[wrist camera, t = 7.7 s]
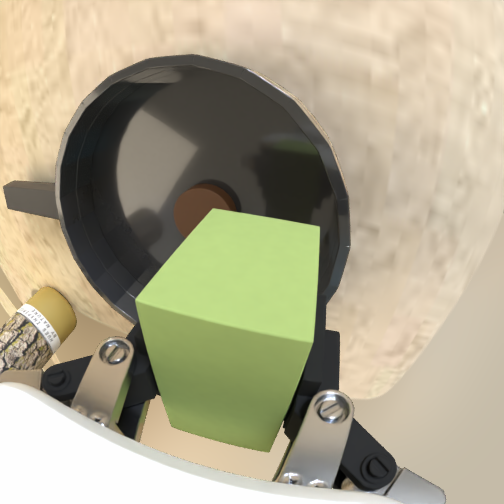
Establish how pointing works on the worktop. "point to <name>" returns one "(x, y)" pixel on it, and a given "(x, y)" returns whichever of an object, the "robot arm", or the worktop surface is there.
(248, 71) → the pan
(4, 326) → the paper tube
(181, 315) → the sponge
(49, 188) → the pan handle
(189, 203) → the brown disc
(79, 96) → the worktop surface
